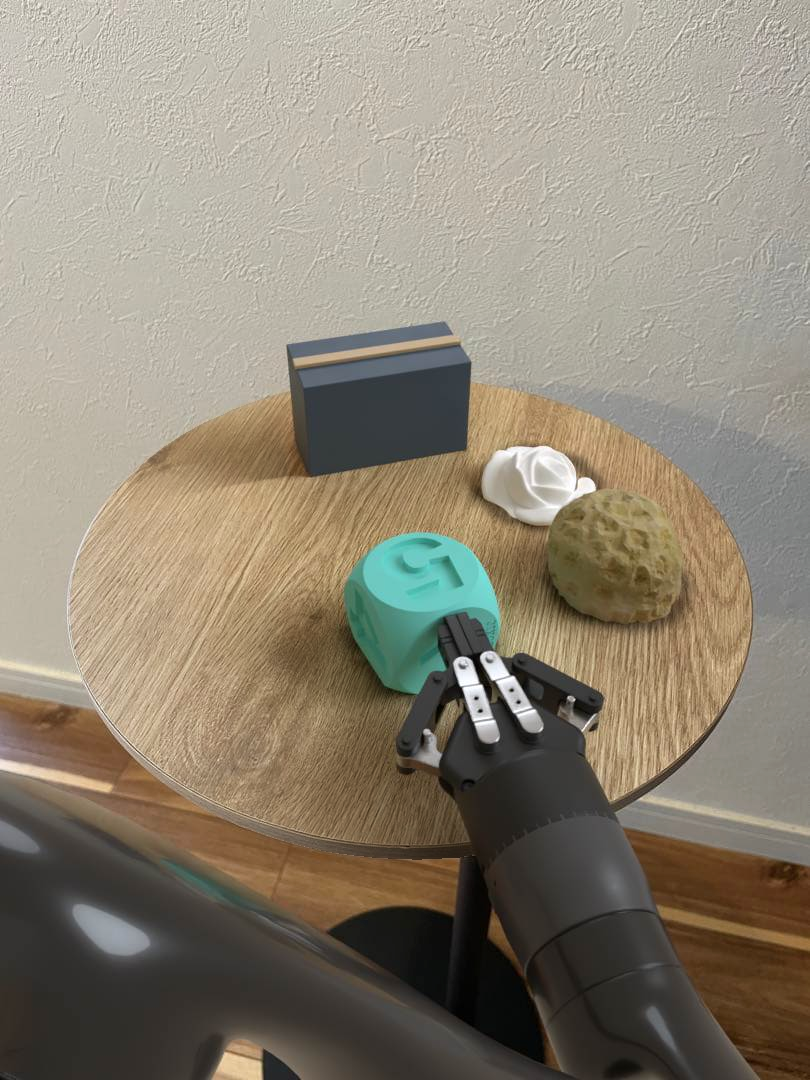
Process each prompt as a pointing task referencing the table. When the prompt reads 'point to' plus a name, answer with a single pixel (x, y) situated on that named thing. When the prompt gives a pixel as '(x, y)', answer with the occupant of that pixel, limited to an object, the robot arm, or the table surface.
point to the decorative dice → (415, 604)
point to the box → (379, 397)
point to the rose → (532, 483)
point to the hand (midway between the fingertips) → (453, 623)
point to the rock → (615, 556)
